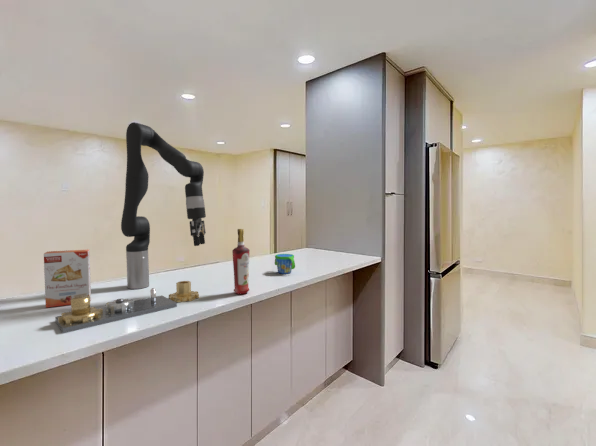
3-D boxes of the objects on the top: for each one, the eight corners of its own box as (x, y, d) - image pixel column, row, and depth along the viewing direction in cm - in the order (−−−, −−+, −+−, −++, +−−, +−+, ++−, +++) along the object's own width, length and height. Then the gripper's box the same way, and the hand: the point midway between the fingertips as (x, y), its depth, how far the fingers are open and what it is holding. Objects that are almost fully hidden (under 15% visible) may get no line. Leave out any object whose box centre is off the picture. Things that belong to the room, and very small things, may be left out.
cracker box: (45, 308, 118) (42, 253, 117) (49, 304, 123) (46, 251, 122) (89, 303, 124) (87, 250, 123) (91, 299, 130) (89, 248, 129)
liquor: (243, 289, 143) (242, 228, 141) (253, 293, 138) (252, 229, 136) (229, 293, 138) (228, 229, 136) (239, 296, 133) (238, 230, 131)
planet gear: (163, 298, 131) (163, 282, 130) (191, 292, 139) (190, 277, 139) (176, 304, 122) (175, 287, 122) (204, 297, 131) (204, 282, 130)
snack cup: (300, 274, 175) (300, 255, 175) (284, 276, 169) (284, 257, 169) (285, 269, 188) (284, 252, 187) (269, 271, 182) (269, 254, 181)
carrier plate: (55, 321, 105) (54, 297, 104) (162, 299, 129) (161, 279, 129) (62, 333, 95) (61, 307, 94) (176, 306, 119) (176, 285, 119)
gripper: (191, 208, 143) (195, 244, 143) (181, 207, 128) (185, 247, 129) (208, 207, 143) (212, 242, 143) (199, 205, 129) (204, 245, 129)
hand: (199, 244), depth 136 cm, fingers open, 8 cm apart
